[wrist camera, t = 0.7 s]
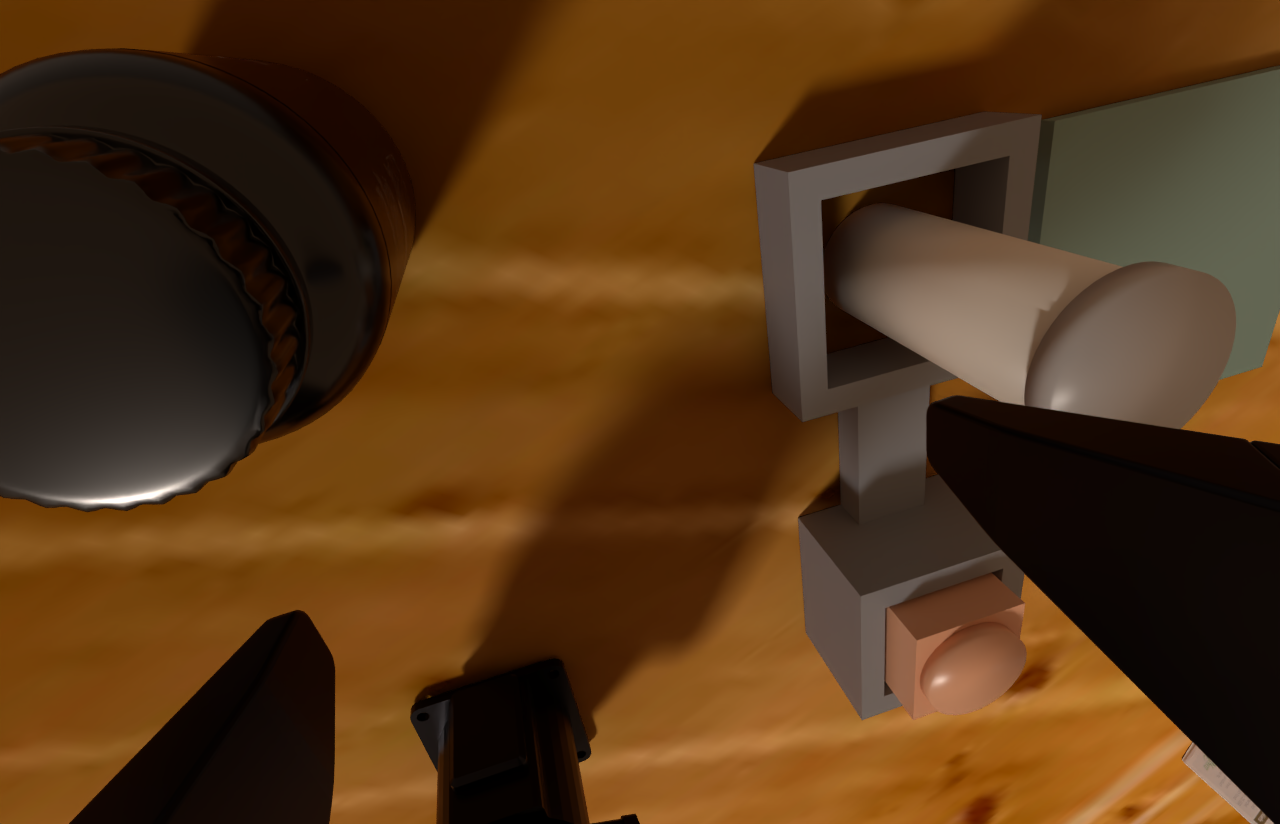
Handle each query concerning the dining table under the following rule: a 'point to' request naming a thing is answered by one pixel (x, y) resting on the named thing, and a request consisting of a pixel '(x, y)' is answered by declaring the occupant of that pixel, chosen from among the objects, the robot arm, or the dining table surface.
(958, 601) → the plunger
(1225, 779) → the syrup box
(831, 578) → the grey long framed piece
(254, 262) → the supplement bottle
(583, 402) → the dining table surface
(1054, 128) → the green mat
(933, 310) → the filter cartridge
